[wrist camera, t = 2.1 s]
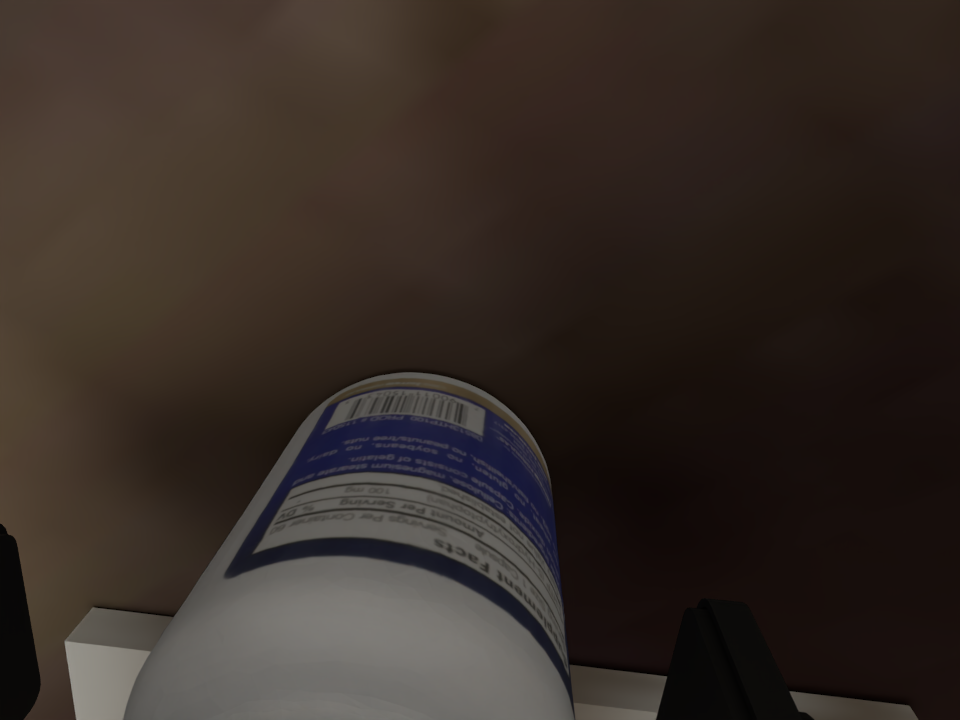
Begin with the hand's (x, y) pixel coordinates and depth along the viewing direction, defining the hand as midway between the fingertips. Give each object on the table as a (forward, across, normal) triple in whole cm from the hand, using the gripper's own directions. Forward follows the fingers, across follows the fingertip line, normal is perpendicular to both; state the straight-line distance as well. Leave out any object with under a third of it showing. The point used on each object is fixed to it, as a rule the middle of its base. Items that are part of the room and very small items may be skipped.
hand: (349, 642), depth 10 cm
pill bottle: (+4, 0, 0) cm, 4 cm away
